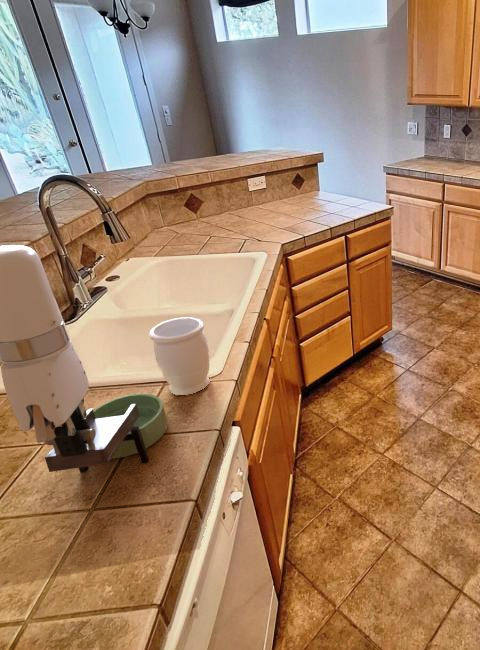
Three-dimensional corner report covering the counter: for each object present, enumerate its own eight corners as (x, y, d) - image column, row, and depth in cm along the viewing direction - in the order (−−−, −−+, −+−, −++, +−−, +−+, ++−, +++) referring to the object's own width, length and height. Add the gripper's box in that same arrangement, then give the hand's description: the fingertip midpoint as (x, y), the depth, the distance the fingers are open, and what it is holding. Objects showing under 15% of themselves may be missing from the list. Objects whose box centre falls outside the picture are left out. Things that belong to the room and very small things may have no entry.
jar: (199, 367, 104) (186, 312, 98) (224, 382, 99) (213, 324, 92) (155, 388, 96) (138, 329, 90) (180, 405, 91) (165, 344, 84)
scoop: (47, 474, 63) (36, 439, 61) (91, 422, 76) (83, 392, 74) (106, 465, 64) (97, 431, 63) (139, 416, 78) (132, 386, 76)
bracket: (80, 473, 74) (66, 439, 71) (82, 468, 75) (69, 435, 72) (147, 463, 76) (137, 429, 73) (149, 458, 77) (138, 426, 74)
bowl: (76, 466, 75) (67, 444, 73) (105, 418, 87) (97, 398, 85) (158, 454, 78) (152, 432, 76) (175, 409, 90) (170, 389, 88)
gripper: (32, 318, 62) (74, 418, 70) (-42, 377, 48) (20, 495, 56) (90, 312, 64) (124, 411, 72) (34, 369, 50) (84, 484, 58)
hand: (78, 447), depth 64 cm, fingers closed on scoop
